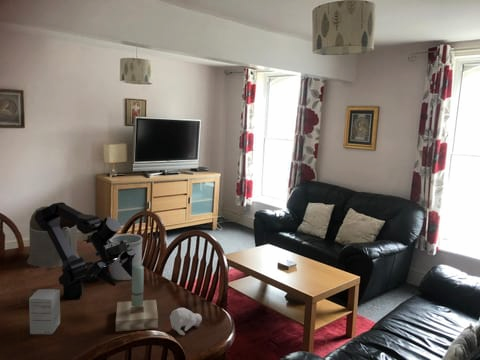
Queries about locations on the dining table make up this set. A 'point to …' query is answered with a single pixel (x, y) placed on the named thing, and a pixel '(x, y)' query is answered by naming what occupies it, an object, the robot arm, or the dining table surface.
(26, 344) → the dining table surface
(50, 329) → the supplement box
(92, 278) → the end cap
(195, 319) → the white rounded figure
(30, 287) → the dining table surface
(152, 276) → the dining table surface
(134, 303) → the plug
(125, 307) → the square hole wooden block
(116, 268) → the utensil holder
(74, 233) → the gray lidded bin
